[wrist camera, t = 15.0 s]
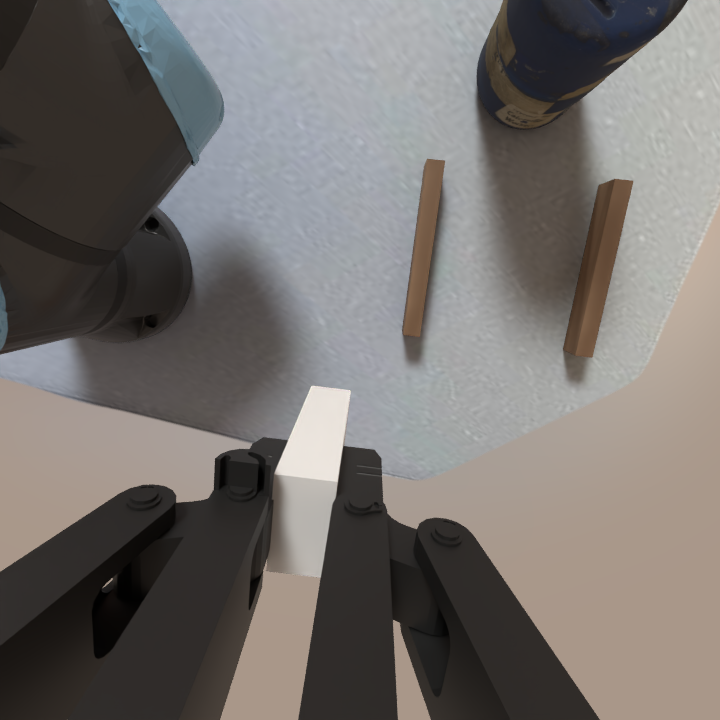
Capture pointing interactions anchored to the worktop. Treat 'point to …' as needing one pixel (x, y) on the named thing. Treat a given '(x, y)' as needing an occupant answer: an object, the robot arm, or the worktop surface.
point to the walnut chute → (592, 271)
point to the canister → (560, 52)
